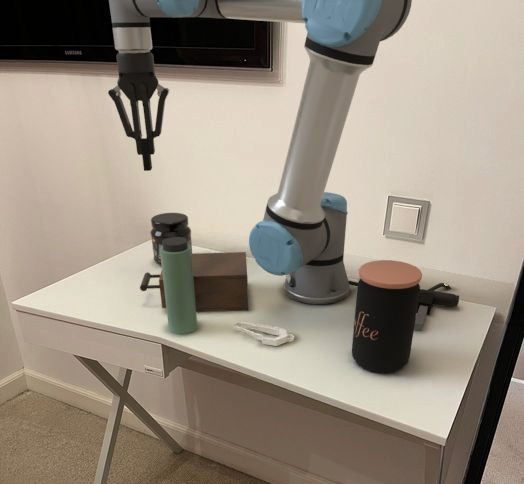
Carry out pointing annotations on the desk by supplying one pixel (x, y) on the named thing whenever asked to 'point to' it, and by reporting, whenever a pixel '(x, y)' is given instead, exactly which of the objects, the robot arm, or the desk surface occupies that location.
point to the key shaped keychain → (265, 328)
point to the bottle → (178, 285)
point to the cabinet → (220, 281)
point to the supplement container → (168, 231)
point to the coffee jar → (385, 315)
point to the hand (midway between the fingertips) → (148, 169)
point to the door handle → (428, 300)
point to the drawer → (146, 285)
